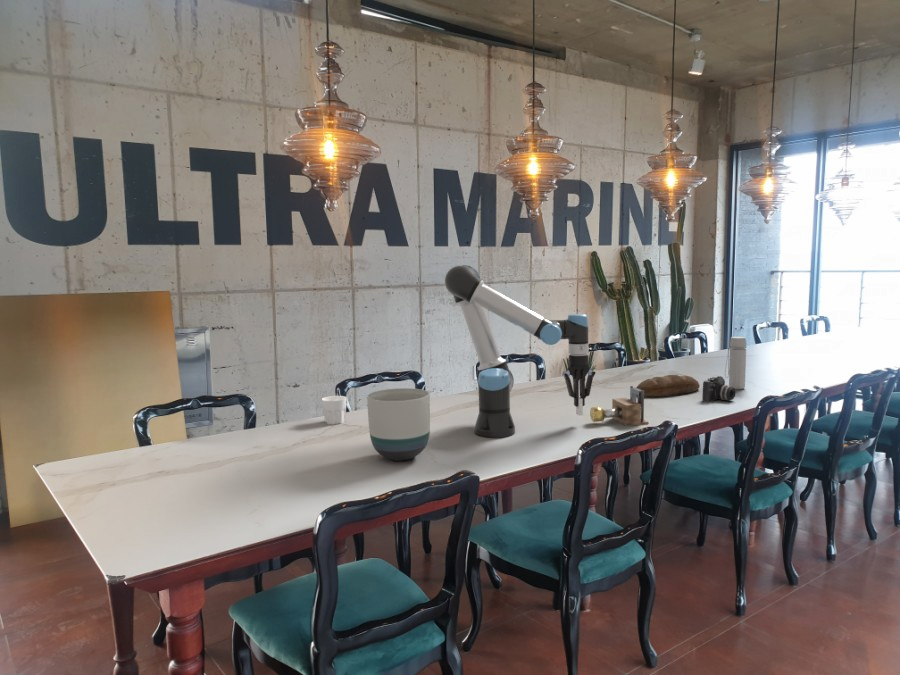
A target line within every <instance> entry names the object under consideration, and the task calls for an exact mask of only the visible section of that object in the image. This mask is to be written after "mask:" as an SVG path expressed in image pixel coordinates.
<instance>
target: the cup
mask: <svg viewBox="0 0 900 675" xmlns="http://www.w3.org/2000/svg"><path fill="white" fill-rule="evenodd" d="M321 403H322V404H321V405H322V408H323V409H322V410H323V417H324V422H325V423H326V422H327V423H326V425H337V424H339V423H341V424H343V423H345V422H346V420H347V418H346V416H347V396H345V395H329V396H324V397H322V398H321Z"/></svg>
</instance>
